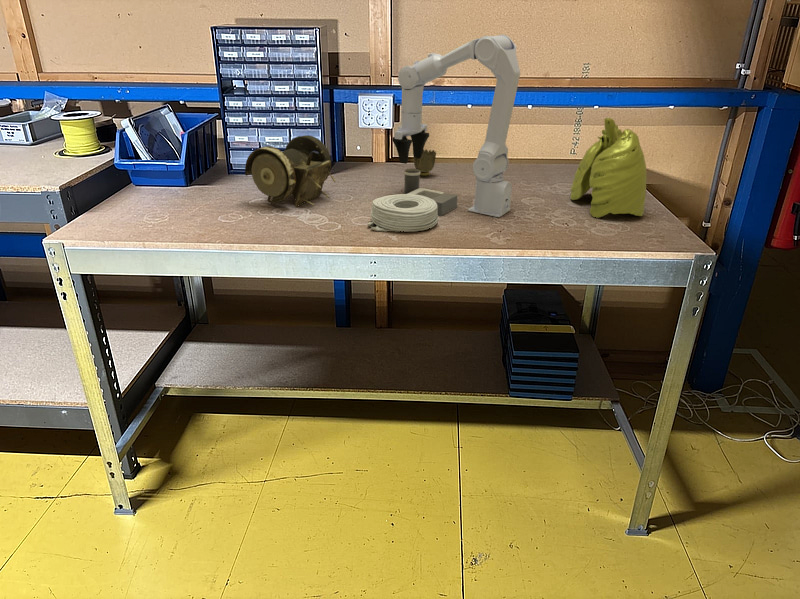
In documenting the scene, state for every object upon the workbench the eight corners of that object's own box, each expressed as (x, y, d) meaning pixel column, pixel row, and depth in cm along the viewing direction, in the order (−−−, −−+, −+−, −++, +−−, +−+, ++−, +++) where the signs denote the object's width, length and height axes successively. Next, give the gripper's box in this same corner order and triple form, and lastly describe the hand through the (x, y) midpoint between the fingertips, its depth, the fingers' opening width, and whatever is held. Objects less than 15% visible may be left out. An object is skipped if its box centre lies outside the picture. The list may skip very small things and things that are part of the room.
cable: (364, 232, 145) (364, 209, 142) (376, 210, 160) (376, 188, 157) (434, 237, 143) (436, 213, 140) (440, 214, 158) (441, 192, 155)
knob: (422, 193, 174) (423, 170, 171) (414, 196, 171) (415, 173, 168) (409, 190, 176) (409, 167, 173) (400, 194, 173) (401, 170, 170)
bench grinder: (235, 189, 162) (252, 128, 149) (284, 168, 179) (303, 111, 166) (291, 231, 159) (313, 172, 146) (336, 206, 176) (359, 150, 163)
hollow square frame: (456, 207, 163) (457, 195, 161) (441, 215, 156) (441, 203, 155) (420, 199, 169) (420, 187, 167) (403, 207, 162) (403, 195, 160)
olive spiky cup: (435, 179, 188) (437, 154, 184) (412, 178, 188) (413, 153, 184) (434, 173, 195) (435, 148, 191) (412, 172, 194) (413, 148, 191)
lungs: (561, 194, 176) (574, 111, 165) (610, 193, 178) (626, 111, 167) (594, 222, 154) (611, 129, 143) (650, 221, 156) (671, 129, 145)
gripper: (413, 107, 170) (411, 153, 176) (385, 113, 159) (385, 163, 166) (434, 109, 167) (432, 157, 173) (407, 116, 156) (406, 167, 162)
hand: (410, 160), depth 169 cm, fingers open, 7 cm apart
